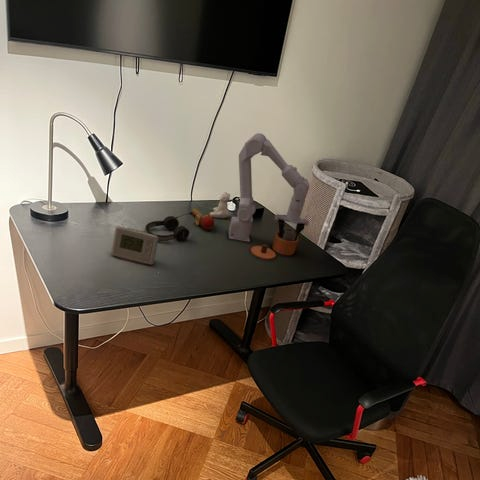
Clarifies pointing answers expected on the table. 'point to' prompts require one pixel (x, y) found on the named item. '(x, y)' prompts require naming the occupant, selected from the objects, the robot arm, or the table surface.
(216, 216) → the seated beast figurine
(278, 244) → the pot
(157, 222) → the headset
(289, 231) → the dice cube
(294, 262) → the table surface
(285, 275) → the table surface
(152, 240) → the digital clock
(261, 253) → the lid
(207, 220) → the kendama
